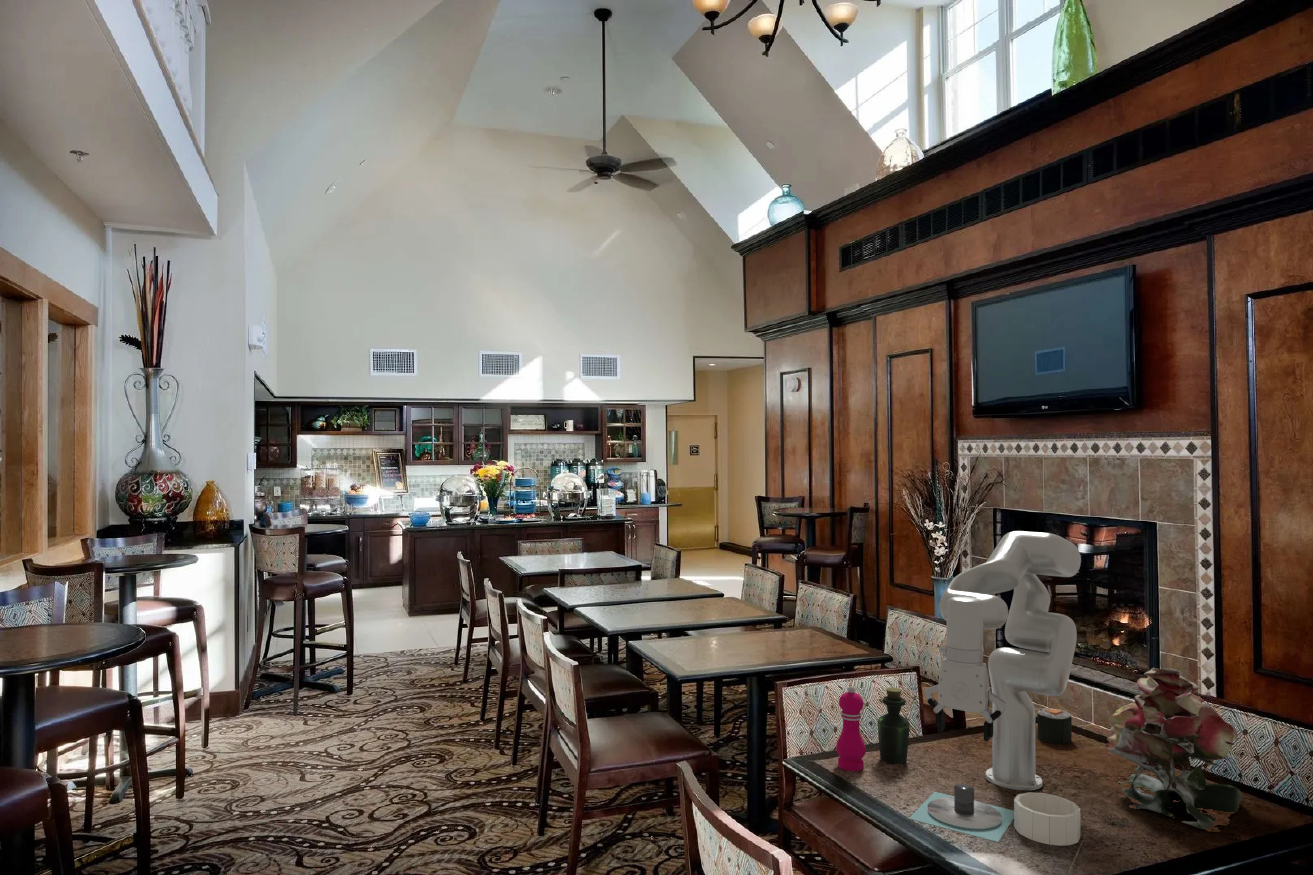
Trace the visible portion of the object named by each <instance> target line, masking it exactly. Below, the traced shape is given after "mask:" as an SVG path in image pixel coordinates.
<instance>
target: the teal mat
mask: <svg viewBox="0 0 1313 875" xmlns="http://www.w3.org/2000/svg"><path fill="white" fill-rule="evenodd" d="M945 797H954V795H950V794H947V793H943V792H942V793H941V792H938V791H934V792H933V793H932V794H931V795H930V796H929V797H928V798H927V799H926V800H925V801H924V802H923V803H922V804H921V805H920V806H919V807H918V809H916V811H915V812H914V813H913V814H912V815H911V816H910V817H909V818H908V819H909V820H912V821H916V822H920V823H924V824H928V825H931V826H935V827H938V828H943V829H947V830H949V831H950V830H951V831H953V832H958V833H962V834H965V835H969V836H973V837H975V838H976V837H977V838H980V839H985V840H988V841H992V842H995V843H999V842H1000V840H1001V839H1002V837H1003V835H1004V834H1005V832H1006V831H1007V829H1008V828H1009V826H1010V825H1011V823H1012V822H1013V821H1014V809H1009V808H1004V807H1000V806H996V805H991V804H988V803H986V804H987V805H989V806H991V807H993V808H995V809H996V810H998V811H999V812H1000V814H1001V816H1002V823H1001V825H1000V826H998V827H996V828H994V829H990V830H966V829H960V828H956V827H952V826H949V825H946V824H943V823H941V822H939V821H937V820H935V819H934V818H932V817H931V816H930V815H929V813H928V804H929V802H931V801H932V800H935V799H938V798H945Z"/></svg>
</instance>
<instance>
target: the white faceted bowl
mask: <svg viewBox="0 0 1313 875" xmlns="http://www.w3.org/2000/svg"><path fill="white" fill-rule="evenodd" d="M1013 811H1014V819H1013V827H1014V829H1015V830H1016V832H1017V833H1018V834H1019V835H1021V836H1023V837H1024V838H1027V839H1028V840H1031V841H1034V842H1037V843H1040V844H1045V845H1050V846H1060V847H1061V846H1063V847H1065V846H1072V845H1074V844H1077V843H1079V841H1080V839H1081V808H1080V807H1079V806H1078V805H1077V804H1076V803H1075V802H1073V801H1071V800H1069V799H1066V798H1064V797H1062V796H1059V795H1055V794H1050V793H1044V792H1031V791H1027V792H1023V793H1019V794H1016V796H1015V797H1014V799H1013Z"/></svg>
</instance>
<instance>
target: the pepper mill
mask: <svg viewBox="0 0 1313 875" xmlns="http://www.w3.org/2000/svg"><path fill="white" fill-rule="evenodd" d="M838 705H839V707H840V709H841V711H840V714H841V715H840V717H841V719H842V729H841V732H840V734H839V736H838V738H837V742H836V746H835V749H836V750H835V751H836V753H837V755H838V758H837V766H838V768H839V769H841V770H843V771H847V772H860V771H862V770H863V769H864V766H865V765H864V764H865V762H864V759H863V758H864V756H865V755H866V752H867V751H866V744H865V741H864V739H863V737H862V734H861V731H860V720H862V710H863V708H864V705H865V704H864V699H863V697H862V696H861V695H860V694H859V693H857V692H856V688H855V687H854V686H853V685H852V686H851V685H850V686H848V687H847V691H846V692H844V693H842V694H841V695H840V696H839V700H838Z"/></svg>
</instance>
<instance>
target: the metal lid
mask: <svg viewBox="0 0 1313 875" xmlns="http://www.w3.org/2000/svg"><path fill="white" fill-rule="evenodd" d="M953 794H954V795H953V796H954V797H945V798H938V799H935V800H932V801H931V802H929V804H928V813H929V815H930V816H931V817H932V818H934V819H935V820H937V821H939V822H941V823H943V824H946V825H949V826H952V827H956V828H960V829H966V830H990V829H994V828H996V827H998V826H1000V825H1001V823H1002V816H1001V814H1000V812H999V811H998V810H996V809H995V808H993V807H991V806H989V805H990V804H988V803H984V802H981V801H978V800H975V788H974V787H973V786H971V785H968V784H963V783H961V784H960V783H958V784H954V792H953ZM987 804H988V805H987Z"/></svg>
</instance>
